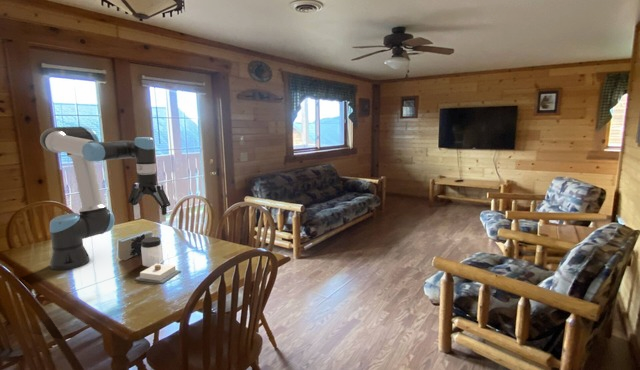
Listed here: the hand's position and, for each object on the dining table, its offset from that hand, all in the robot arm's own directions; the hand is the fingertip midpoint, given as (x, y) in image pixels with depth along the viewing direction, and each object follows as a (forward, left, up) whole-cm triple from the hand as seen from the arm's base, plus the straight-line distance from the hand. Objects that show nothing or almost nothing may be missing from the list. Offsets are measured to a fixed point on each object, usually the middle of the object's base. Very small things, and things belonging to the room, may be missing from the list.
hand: (150, 220), depth 154 cm
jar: (-6, +6, -24) cm, 25 cm away
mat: (+6, -5, -24) cm, 25 cm away
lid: (+6, -5, -23) cm, 24 cm away
